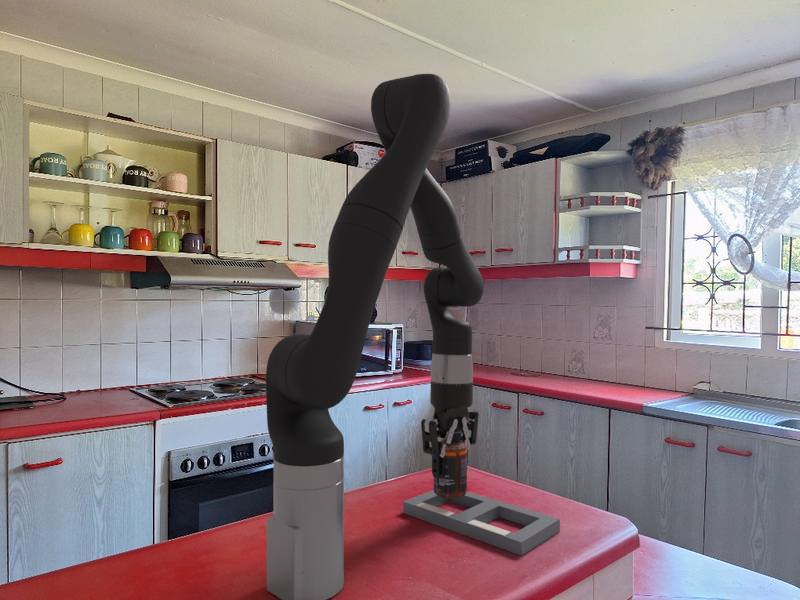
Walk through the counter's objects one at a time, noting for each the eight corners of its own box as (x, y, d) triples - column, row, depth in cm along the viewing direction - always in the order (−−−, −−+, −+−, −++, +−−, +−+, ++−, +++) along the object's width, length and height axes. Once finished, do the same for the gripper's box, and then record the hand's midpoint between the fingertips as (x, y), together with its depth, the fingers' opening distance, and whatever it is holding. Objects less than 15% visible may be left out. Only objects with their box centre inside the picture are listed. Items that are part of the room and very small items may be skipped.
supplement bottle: (466, 489, 101) (467, 427, 101) (467, 500, 95) (468, 434, 95) (433, 487, 101) (434, 425, 102) (432, 498, 95) (433, 433, 96)
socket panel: (521, 555, 82) (521, 541, 82) (403, 512, 98) (403, 501, 98) (559, 531, 91) (559, 518, 91) (445, 495, 107) (445, 484, 107)
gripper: (443, 385, 91) (441, 488, 90) (492, 377, 101) (490, 469, 101) (409, 380, 96) (407, 477, 95) (458, 373, 106) (457, 461, 106)
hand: (450, 473), depth 98 cm, fingers closed on supplement bottle, 6 cm apart
